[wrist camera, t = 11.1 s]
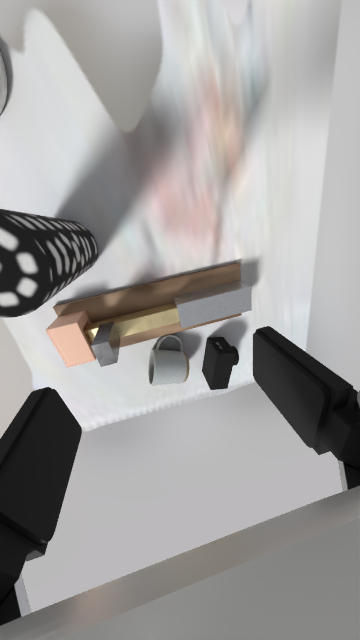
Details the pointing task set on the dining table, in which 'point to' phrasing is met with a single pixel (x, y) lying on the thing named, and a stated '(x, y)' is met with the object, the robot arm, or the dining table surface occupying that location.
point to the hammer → (125, 330)
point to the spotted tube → (39, 259)
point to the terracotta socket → (71, 338)
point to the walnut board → (150, 300)
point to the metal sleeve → (213, 303)
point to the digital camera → (219, 362)
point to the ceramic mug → (168, 365)
